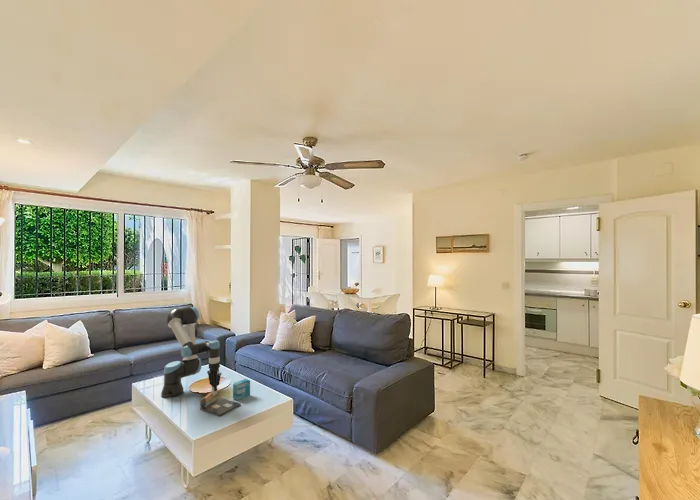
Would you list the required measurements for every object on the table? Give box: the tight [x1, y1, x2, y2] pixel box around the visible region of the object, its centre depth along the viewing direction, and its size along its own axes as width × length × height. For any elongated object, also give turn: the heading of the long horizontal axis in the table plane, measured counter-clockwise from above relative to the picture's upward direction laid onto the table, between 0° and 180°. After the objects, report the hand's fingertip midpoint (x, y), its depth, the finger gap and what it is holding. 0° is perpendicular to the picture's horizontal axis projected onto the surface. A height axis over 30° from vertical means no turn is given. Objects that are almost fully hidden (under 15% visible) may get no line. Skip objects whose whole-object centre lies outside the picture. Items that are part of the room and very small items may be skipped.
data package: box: [232, 378, 251, 401], centre depth 245 cm, size 12×4×12 cm, turn 143°
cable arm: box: [199, 388, 218, 407], centre depth 235 cm, size 21×4×4 cm, turn 176°
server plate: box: [199, 397, 242, 417], centre depth 229 cm, size 20×18×3 cm
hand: (214, 394), depth 238 cm, fingers closed
